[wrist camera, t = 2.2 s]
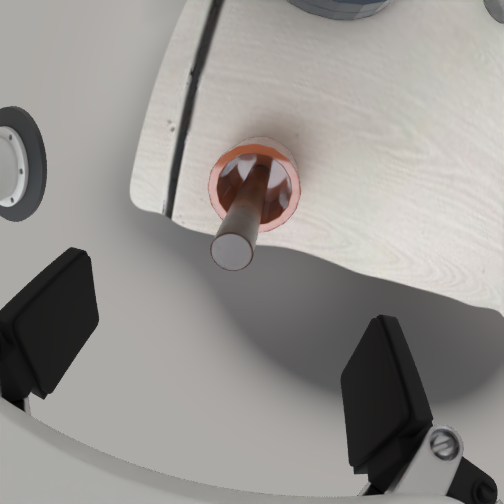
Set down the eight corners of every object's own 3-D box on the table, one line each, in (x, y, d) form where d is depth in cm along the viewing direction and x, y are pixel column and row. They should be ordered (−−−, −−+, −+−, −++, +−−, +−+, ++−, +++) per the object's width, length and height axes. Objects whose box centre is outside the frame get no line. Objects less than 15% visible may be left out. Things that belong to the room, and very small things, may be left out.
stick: (247, 181, 32) (207, 265, 16) (251, 162, 31) (213, 227, 15) (267, 186, 32) (247, 275, 16) (272, 167, 31) (257, 238, 15)
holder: (217, 198, 34) (201, 220, 27) (231, 129, 30) (217, 135, 24) (286, 215, 34) (286, 241, 27) (305, 147, 30) (311, 158, 24)
